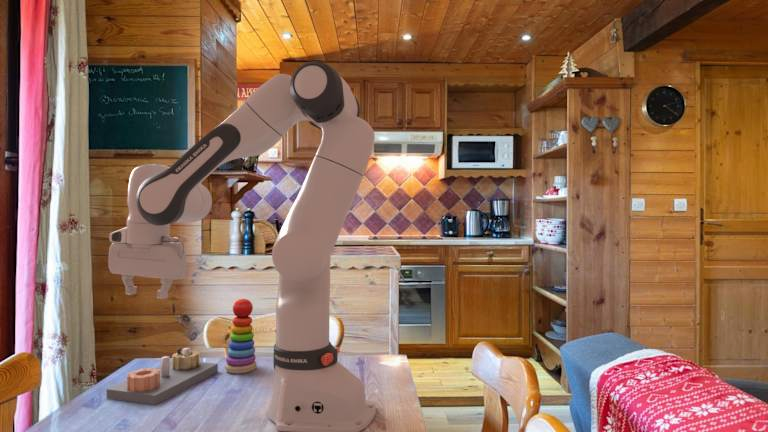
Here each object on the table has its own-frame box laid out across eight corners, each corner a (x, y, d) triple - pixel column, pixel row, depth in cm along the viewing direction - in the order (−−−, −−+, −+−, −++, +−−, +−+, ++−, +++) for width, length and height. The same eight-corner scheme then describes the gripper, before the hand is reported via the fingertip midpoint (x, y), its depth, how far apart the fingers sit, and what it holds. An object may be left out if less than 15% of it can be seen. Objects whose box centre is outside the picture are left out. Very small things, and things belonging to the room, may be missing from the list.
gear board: (217, 371, 121) (217, 346, 121) (154, 404, 99) (154, 374, 99) (175, 366, 124) (176, 342, 124) (106, 398, 103) (106, 369, 103)
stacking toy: (247, 375, 117) (247, 302, 117) (219, 373, 119) (219, 301, 119) (261, 365, 125) (262, 297, 125) (234, 363, 127) (235, 295, 127)
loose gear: (166, 382, 107) (166, 369, 107) (144, 393, 101) (144, 379, 101) (143, 379, 109) (143, 366, 109) (120, 389, 103) (120, 376, 103)
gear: (205, 362, 121) (205, 346, 121) (188, 370, 114) (188, 354, 114) (184, 360, 123) (184, 344, 123) (166, 368, 116) (166, 351, 116)
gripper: (194, 237, 104) (192, 298, 104) (127, 233, 112) (125, 290, 112) (172, 238, 98) (170, 303, 98) (103, 233, 106) (101, 294, 106)
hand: (146, 296), depth 105 cm, fingers open, 8 cm apart
